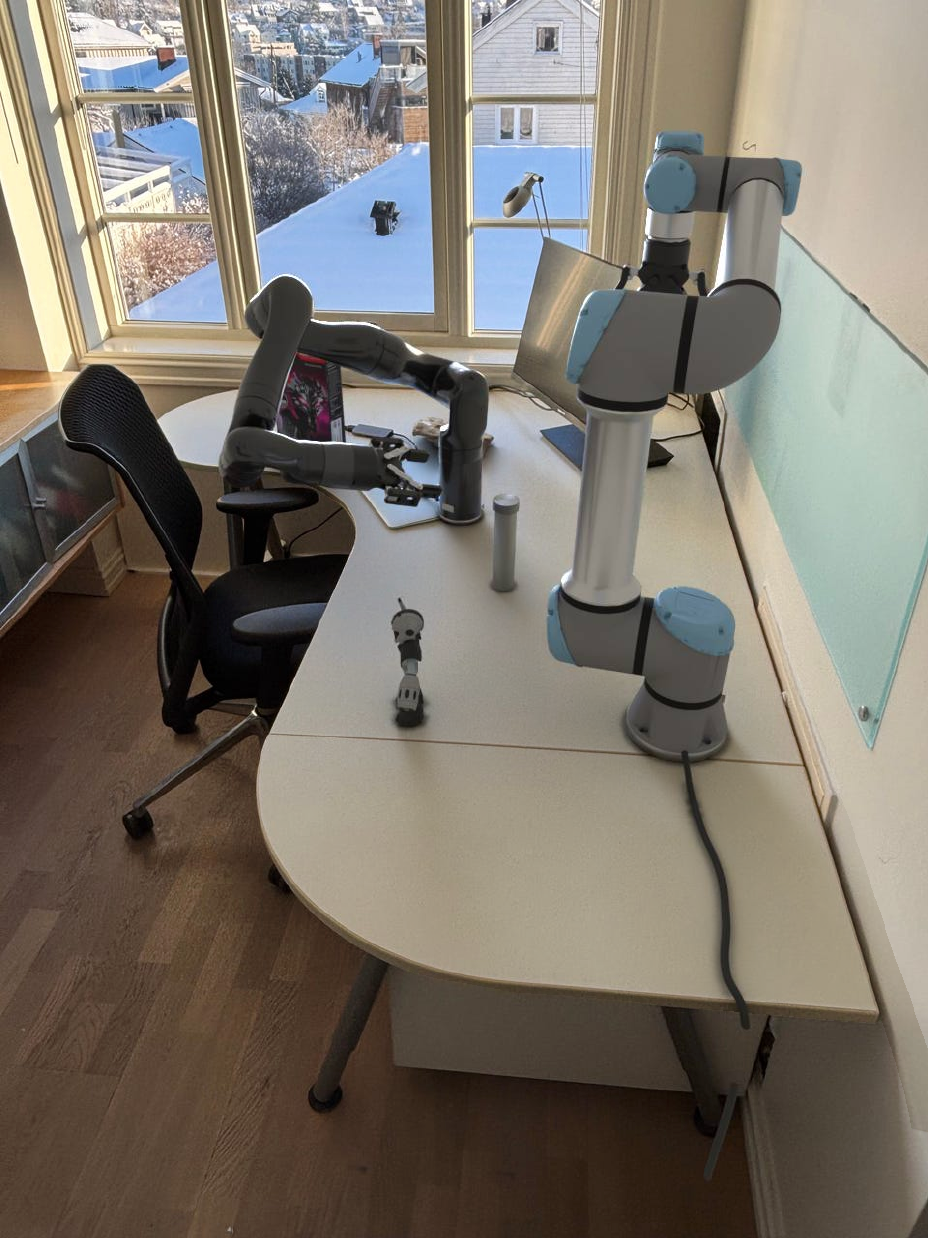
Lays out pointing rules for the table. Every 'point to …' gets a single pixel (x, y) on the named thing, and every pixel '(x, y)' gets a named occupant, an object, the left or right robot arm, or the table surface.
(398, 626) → the robot
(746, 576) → the table surface
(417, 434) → the stone
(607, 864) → the table surface
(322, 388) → the graphics card box
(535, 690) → the table surface
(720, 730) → the right robot arm
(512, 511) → the lid
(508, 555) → the grey capped cylinder
